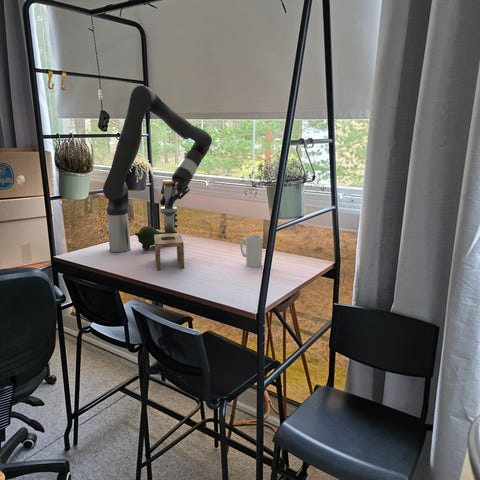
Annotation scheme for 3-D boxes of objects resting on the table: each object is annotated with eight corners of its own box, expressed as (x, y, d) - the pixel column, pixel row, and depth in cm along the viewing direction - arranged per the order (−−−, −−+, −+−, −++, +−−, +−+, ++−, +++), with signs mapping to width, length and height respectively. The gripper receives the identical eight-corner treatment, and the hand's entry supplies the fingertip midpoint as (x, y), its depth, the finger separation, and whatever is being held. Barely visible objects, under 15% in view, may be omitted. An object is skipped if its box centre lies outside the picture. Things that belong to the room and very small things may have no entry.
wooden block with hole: (156, 270, 171) (155, 244, 168) (155, 259, 186) (154, 234, 183) (184, 268, 173) (183, 242, 171) (180, 257, 188) (179, 233, 186)
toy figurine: (167, 243, 217) (128, 250, 198) (168, 206, 214) (128, 209, 194) (181, 246, 212) (141, 253, 192) (182, 208, 208) (141, 211, 188)
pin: (161, 232, 172) (159, 181, 167) (160, 229, 178) (159, 179, 173) (178, 232, 173) (177, 181, 168) (177, 228, 180) (176, 179, 174)
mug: (265, 264, 178) (265, 236, 175) (256, 268, 173) (256, 239, 170) (245, 260, 184) (245, 233, 181) (236, 264, 178) (235, 236, 175)
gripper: (167, 165, 179) (147, 197, 172) (193, 167, 171) (173, 201, 165) (176, 176, 185) (157, 208, 178) (202, 179, 177) (182, 212, 170)
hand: (165, 204), depth 171 cm, fingers closed on pin, 3 cm apart
